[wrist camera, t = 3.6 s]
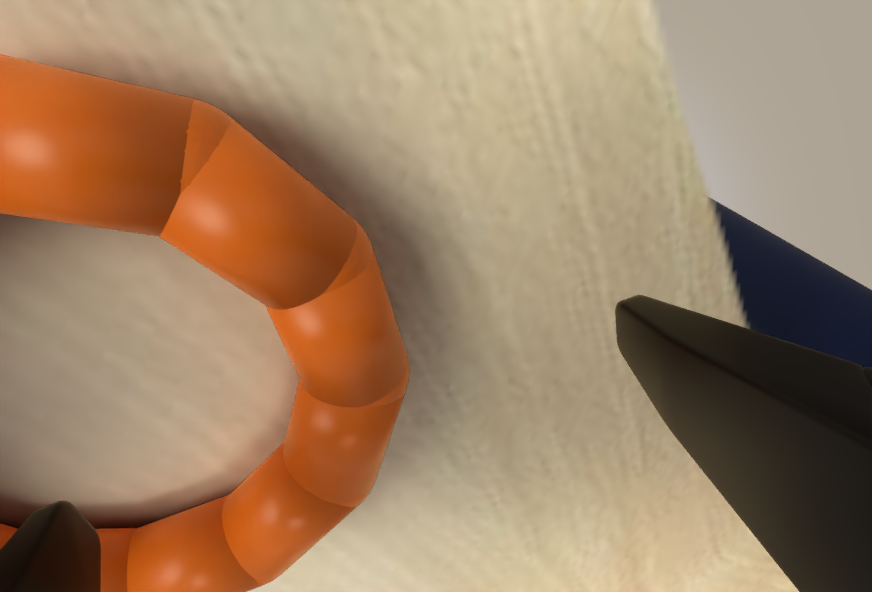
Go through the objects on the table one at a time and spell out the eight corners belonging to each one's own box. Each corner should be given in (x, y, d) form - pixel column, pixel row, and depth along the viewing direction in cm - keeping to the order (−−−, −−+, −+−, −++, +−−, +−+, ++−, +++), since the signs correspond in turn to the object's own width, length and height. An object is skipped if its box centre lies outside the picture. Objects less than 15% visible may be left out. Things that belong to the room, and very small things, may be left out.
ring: (275, -46, 9) (283, -41, 7) (439, 461, 16) (464, 528, 14) (-615, 194, 8) (-873, 273, 6) (-22, 634, 15) (-59, 732, 13)
